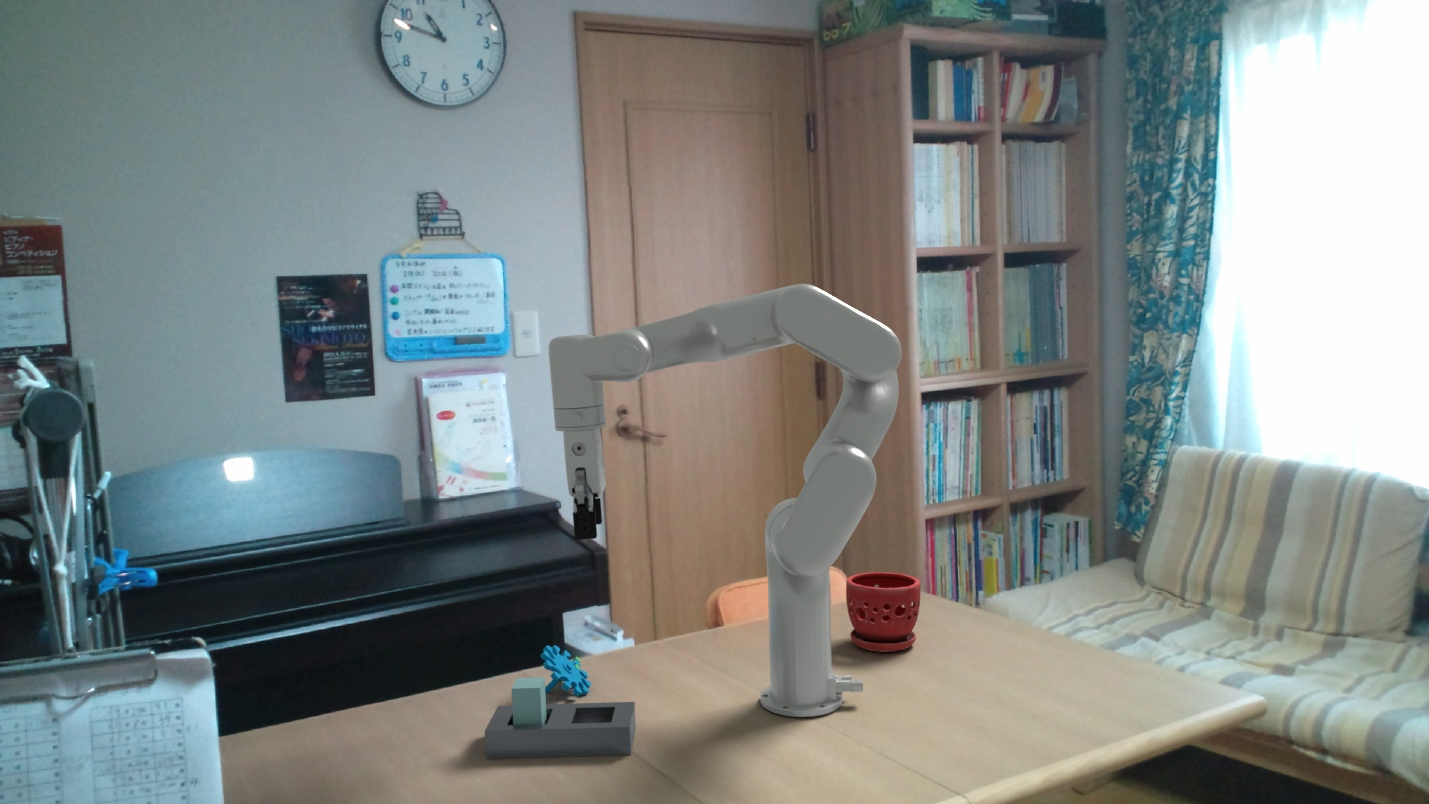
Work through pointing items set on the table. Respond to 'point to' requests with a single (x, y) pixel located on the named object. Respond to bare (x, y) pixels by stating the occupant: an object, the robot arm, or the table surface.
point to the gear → (564, 671)
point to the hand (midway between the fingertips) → (589, 531)
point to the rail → (564, 732)
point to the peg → (529, 701)
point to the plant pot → (883, 610)
